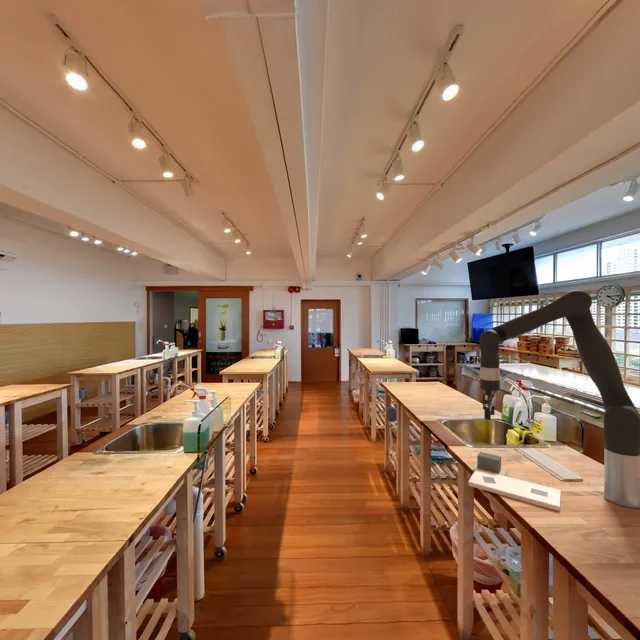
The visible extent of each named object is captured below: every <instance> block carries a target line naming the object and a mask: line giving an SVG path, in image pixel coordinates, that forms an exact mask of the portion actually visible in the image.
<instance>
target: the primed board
mask: <svg viewBox="0 0 640 640" xmlns="http://www.w3.org/2000/svg"><path fill="white" fill-rule="evenodd" d="M467 483H468V484H467V485H468V486H469V487H472V488H476V489H480V490H483V491H487V492H489V493H493V494H497V495H502V496H504V497H507V498H511V499H515V500H518V501H523V502H525V503H529V504H533V505H536V506H540V507H542V508H543V507H544V508H546V509H550V510H554V511H556V512H557V511H558V512H561V498H562V497H561V495H562V494H561V492H562V491H561V489H558V488H554V487H549V486H547V485H546V486H545V485H541V484H538V483H534V482H530V481H525V480H522V479H519V478H518V479H517V478H514V477H509V476H502V475H498V474H494V473H490V472H486V471H482V470H478V469H476V470H475V471H473V473H472V475H471V477H470V478H469V480H468V482H467Z"/></svg>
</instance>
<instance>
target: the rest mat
mask: <svg viewBox="0 0 640 640" xmlns="http://www.w3.org/2000/svg"><path fill="white" fill-rule="evenodd" d="M476 469H477V461H476V462H475V464H473V466H472V467H471V471H472V472H475V470H476ZM478 470H480V469H478ZM482 471H484V470H482ZM486 472H488V471H486ZM507 472H508V469H507V468H504V467H501V471H500V473H499V474H498V475H502V476H506V475H507ZM490 473H492V472H490ZM494 474H496V473H494ZM506 477H507V476H506Z"/></svg>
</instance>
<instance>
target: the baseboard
mask: <svg viewBox="0 0 640 640" xmlns="http://www.w3.org/2000/svg"><path fill="white" fill-rule="evenodd" d="M515 451H516V452H518V451H519V454H521V453H522V454H521V455H523V456H524V455H525V456H526V458H527V459H528V458H529V460H530V461H531V462H532V463H534V464H536V465H537V466H538V467H541V469H543V470H545V471H546V472H548V473H549V474H550V475H551V476H553V477H555V478H556V479H558V480H559V481H560V482H584V478H582V477H581V476H580V475H578V474H576V473H574V472H573V471H572V470H570V469H568V468H566V467H565V466H563V465H562V464H560V463H559V462H557V461H555V460H554V459H552V458H550V457H549V456H547V455H546V454H544V453H542V452H541V451H539V450H537V449H536V448H535V447H534V445H532V447H528V445H526V444H524V445H523V444H522V446H517V445H515ZM525 456H524V457H525Z"/></svg>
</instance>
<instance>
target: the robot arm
mask: <svg viewBox="0 0 640 640" xmlns="http://www.w3.org/2000/svg"><path fill="white" fill-rule="evenodd" d="M592 305H593V299H592V296H591V295H590V294H589V293H588V292H586V291H584V290H582V289H581V290H580V289H573V290H569V291H567V292H565V293H564V294H563V295H562V296H560V297H559V298H557V299H556V300H554V301H552V302H550V303H548V304H546V305H544V306H543V307H540V308H538V309H535V310H531V311H530V312H527V313H525V314H522V315H519V316H516V317H515V318H513V319H510V320H507V321H505V322H504V323H502V324H499V325H497V326H494V327H491V328H488V329H486V330H484V331H483V332H481V334H480V336H479V349H480V361H479V363H480V365H479V366H480V367H479V368H480V369H479V389H480V390H482V391H485V393H483V394H482V410H483V412H484V415H483V416H484V418H483V419H484V420H485V421H490V420H491V419H492V418H491V417H492V416H494V415H495V411H496V409H495V406H496V404H497V392H498V391H500V390H501V372H500V355H499V351H500V344H501V343H503V342H506V341H508V340H509V339H510V340H511V339H515V338H518V337H520V336H522V335H525V334H528V333H530V332H532V331H534V330H537V329H538V328H540V327H543V326H545V325H547V324H549V323H551V322H552V323H553V322H554V321H556V320H559V319H563V318H565V319H566V321H567V323H568V325H569V327H570V329H571V331H572V335H573V339H574V341H575V342H574V343H575V345H576V349H577V352H578V354H579V356H580V359H581V361H582V364H583V367H584V369H585V371H586V372H587V375H588V377H590V379H591V381H592V382H593V383H594V385H595V387H596V389H598V391H599V394H600V397H601V400H602V403H603V407H604V411H605V412H604V415H603V443H604V445H603V446H604V455H603V456H604V457H603V458H604V464H603V465H604V468H603V469H604V472H603V474H604V476H603V477H604V478H603V479H604V481H603V482H604V483H603V484H604V485H603V486H604V487H603V493H604V494H603V495H604V498H605V499H606V500H608V501H609V502H611V503H614V504H616V505H618V506H622V507H626V508H631V509H632V508H634V509H636V508H638V509H640V412H639V411H638V409H637V408H636V405H635V404H634V402H633V401H632V399H631V397H630V395H629V394H628V392H627V390H626V388H625V385H624V381H623V377H622V374H621V373H622V372H621V371H620V368H619V364H618V362H617V359H616V357H615V355H614V353H613V350H612V348H611V346H610V344H609V343H608V341H607V340H606V338H605V336H604V335H603V333H601V331H600V330H599V328H598V327H597V324H596V322H595V320H594V317H593V315H592V311H591V307H592Z"/></svg>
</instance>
